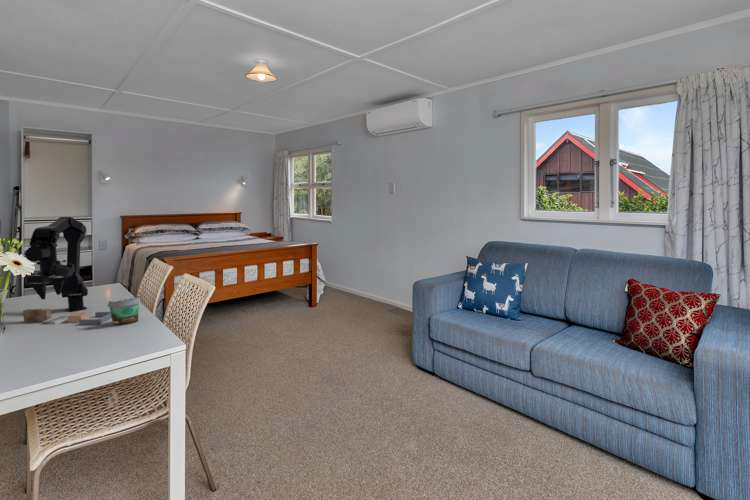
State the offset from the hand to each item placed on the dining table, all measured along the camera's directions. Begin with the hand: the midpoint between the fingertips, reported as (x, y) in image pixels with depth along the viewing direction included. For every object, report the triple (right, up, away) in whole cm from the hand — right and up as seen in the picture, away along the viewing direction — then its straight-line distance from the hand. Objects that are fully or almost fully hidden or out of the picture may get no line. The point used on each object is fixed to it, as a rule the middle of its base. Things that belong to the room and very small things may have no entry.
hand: (51, 296), depth 169 cm
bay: (+15, -10, +5) cm, 19 cm away
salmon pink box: (+8, -11, +4) cm, 14 cm away
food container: (+31, -11, +1) cm, 33 cm away
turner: (-5, -10, +3) cm, 12 cm away
